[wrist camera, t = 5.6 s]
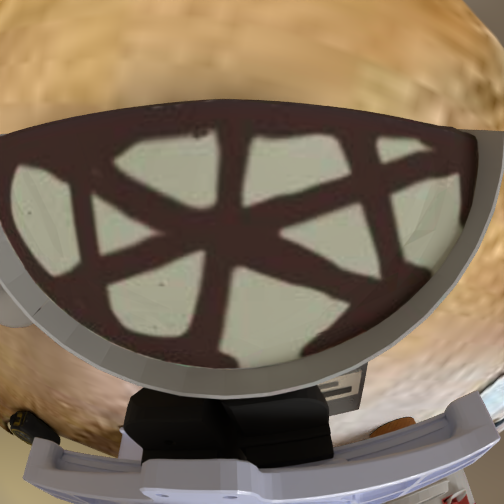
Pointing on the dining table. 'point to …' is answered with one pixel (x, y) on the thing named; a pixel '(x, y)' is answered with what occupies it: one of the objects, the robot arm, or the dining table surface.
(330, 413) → the label panel
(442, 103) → the dining table surface
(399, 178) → the food container
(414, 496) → the disposable coffee cup
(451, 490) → the citrus juicer
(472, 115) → the dining table surface
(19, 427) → the tape measure
